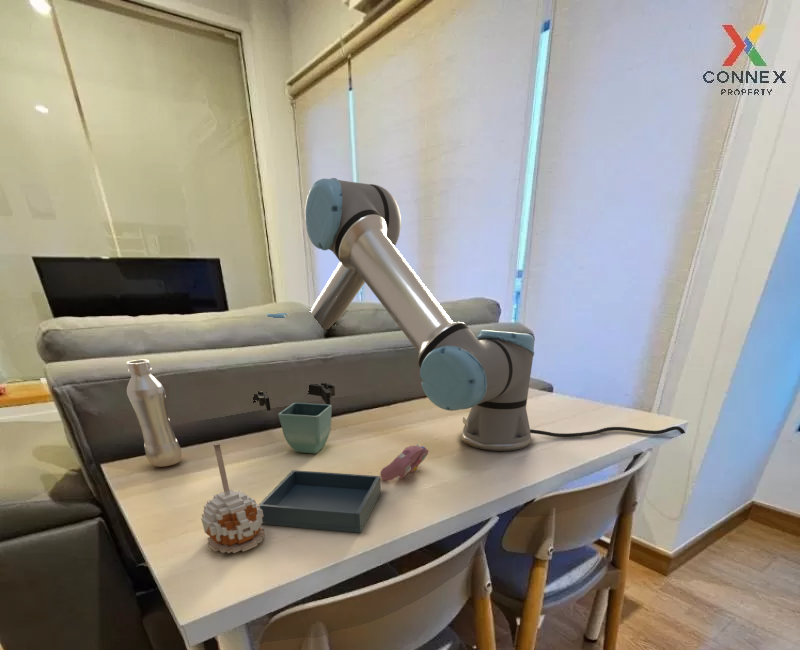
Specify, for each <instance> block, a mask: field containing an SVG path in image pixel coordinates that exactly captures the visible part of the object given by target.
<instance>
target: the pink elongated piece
mask: <svg viewBox="0 0 800 650" xmlns="http://www.w3.org/2000/svg"><path fill="white" fill-rule="evenodd" d="M428 454H429V449H428V448H426V447H425V446H423V445H420V444H419V443H417V444H416V445H409V446H407V447H405V448H404V449H403V450H402V452H401V453H400V454H398V455H397V456H396V457H395V458H394V459H393V460H392V461H391V462H390V463H389V464H388V465H386V466H384V467H383V468H382V469H381V471H380V473H379V476H380V479H382V480H383V481H391V480H395V479H396V478H398V477H400V478H401V479H405V478H406V477H407V475H409V473H411V474H412V473H414V472H415V471H417V469H418V467H419V466H420V464H421V463H422V462H424V460H425V459H426V457H428Z"/></svg>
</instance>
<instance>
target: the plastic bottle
mask: <svg viewBox="0 0 800 650" xmlns="http://www.w3.org/2000/svg"><path fill="white" fill-rule="evenodd" d="M126 365H127V368H128V371H127V372H128V374H130V375H131V376H130V379H129V381H128V383H127V387H126V395H127V397H128V399H129V403H130V404H131V406H132V409H133V410H134V413H135V415H136V418H137V420H138V423H139V427H140V429H141V434H142V439H143V443H144V445H143V447H144V453H145V458H146V460H147V461H148V462H149V464H151V465H152V466H153V467H157V468H161V467H162V468H163V467H170V466H173V465H176V464H178V463H179V462H180V461H181V459H182V457H183V456H182V448H181V445H180V443H179V441H178V439H177V437H176V434H175V431H174V429H173V426H172V424H171V419H170V415H169V410H168V403H167V396H166V390H165V387H164V386H163V384H162V383H161V382H160V381H159V380H158V379H157V378H156V377H155V376H154V375H153V374H152V372H153V369H152V366H151V363H150V361H149V360H148V359H135V360H130V361H127V362H126Z"/></svg>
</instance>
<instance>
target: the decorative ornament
mask: <svg viewBox="0 0 800 650" xmlns="http://www.w3.org/2000/svg"><path fill="white" fill-rule="evenodd" d="M213 448H214V453H215V457H216V462H217V466H218V470H219V475H220V480H221V484H222V489H223V491H221V492H219V493H216V494H213V497H212V499H208V500H207V501H206V503H205V505H203V513H202V514H201V518H200V520H201V523H202V527H203V531H204V533H205V534H206V536H209V537H207V546H208V547H209V548H210V549H211V550H213V552H215V553H216V552H218V551H219V552H221V553H222V554H225V553H228V554H230V553H233V554H235V553H238V552H240V551H242V552H246V551H248V550H251V549H253V548H255V547H258V544H260V543H262V542H263V540H264V539H265V537H266V534H265V528H264V527H262V524H261V523H263V521H262V517H264V516H263V511H262V510H261V509H260V505H259V503H257V502H256V499H254V498H253V497H252V496H250V495H248V494H246V493H244V492H243V491H241V490H237V491H235V490H233V489H230V487H229V481H228V478H227V473H226V468H225V463H224V458H223V453H222V449H221V444H220V443H214V444H213Z"/></svg>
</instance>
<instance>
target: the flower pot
mask: <svg viewBox="0 0 800 650" xmlns="http://www.w3.org/2000/svg"><path fill="white" fill-rule="evenodd" d="M332 407H333V405H332V404H330V405H327V404H322V403H306V402H294V403H291V404H290V405H288V406H287V407H286V408H284V409H283V410H281V411H280V412H279V413H278V414H277V415H278V419H279V423H280V426H281V430H282V433H283V436H284V438H285V441H286V442H287V444H288V446H289V447H290V448H291V449H292V450H293V451H294V453H303V454H304V453H306V454H319V452H320V451H321V450H322V449H323V448H324V447H325V445H326V444H327V441H328V439H329V436H330V434H331V429H332V410H333V409H332Z"/></svg>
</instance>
